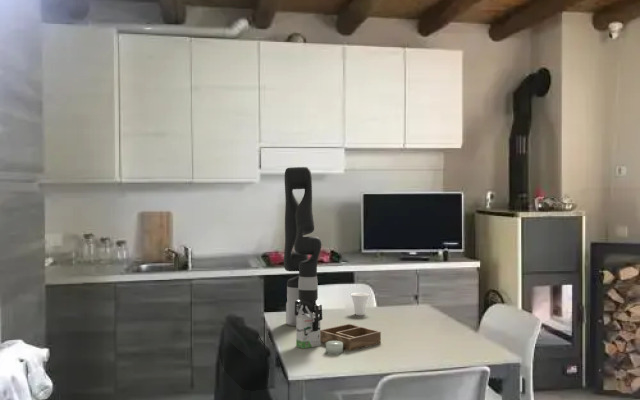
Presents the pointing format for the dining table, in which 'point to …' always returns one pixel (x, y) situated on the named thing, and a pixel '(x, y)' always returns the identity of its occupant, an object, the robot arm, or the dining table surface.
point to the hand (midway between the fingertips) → (308, 329)
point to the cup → (360, 302)
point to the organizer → (351, 336)
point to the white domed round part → (334, 347)
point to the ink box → (306, 332)
